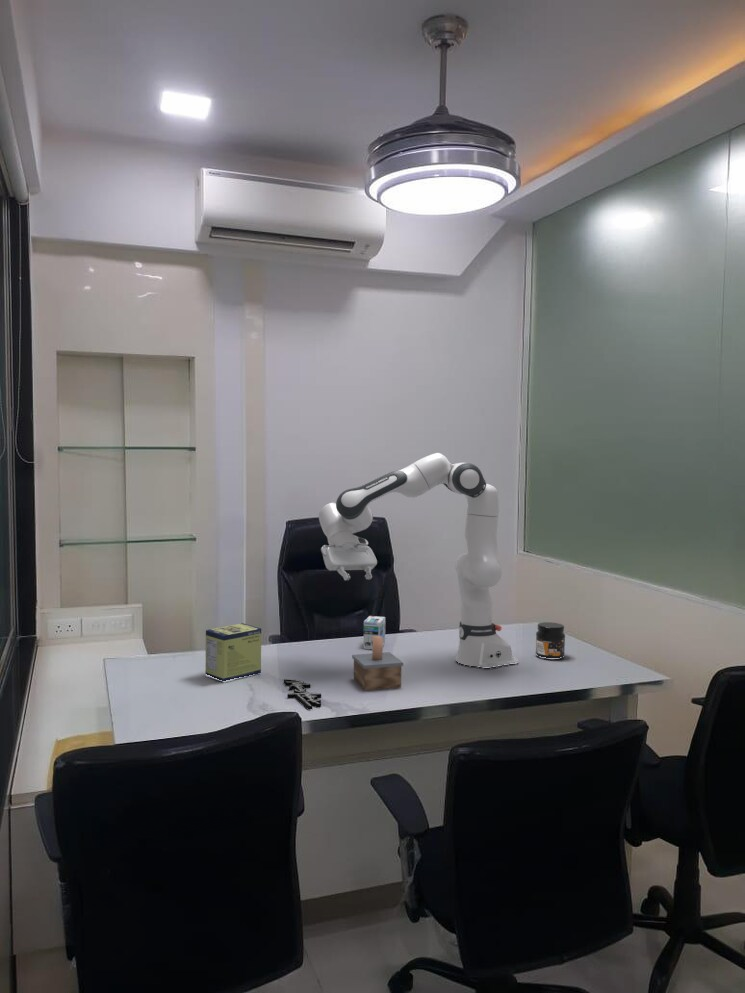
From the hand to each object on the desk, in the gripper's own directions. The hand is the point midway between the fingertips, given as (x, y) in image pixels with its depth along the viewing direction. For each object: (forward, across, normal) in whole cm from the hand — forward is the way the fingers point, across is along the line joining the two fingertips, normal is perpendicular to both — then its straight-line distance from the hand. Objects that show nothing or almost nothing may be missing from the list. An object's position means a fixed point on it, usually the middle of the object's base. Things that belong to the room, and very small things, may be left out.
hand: (358, 578), depth 252 cm
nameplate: (+30, -25, +18) cm, 43 cm away
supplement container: (+39, +72, -2) cm, 82 cm away
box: (+32, +1, +13) cm, 34 cm away
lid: (+28, 0, +9) cm, 29 cm away
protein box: (+10, -31, +41) cm, 52 cm away
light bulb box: (+7, +30, +38) cm, 49 cm away
